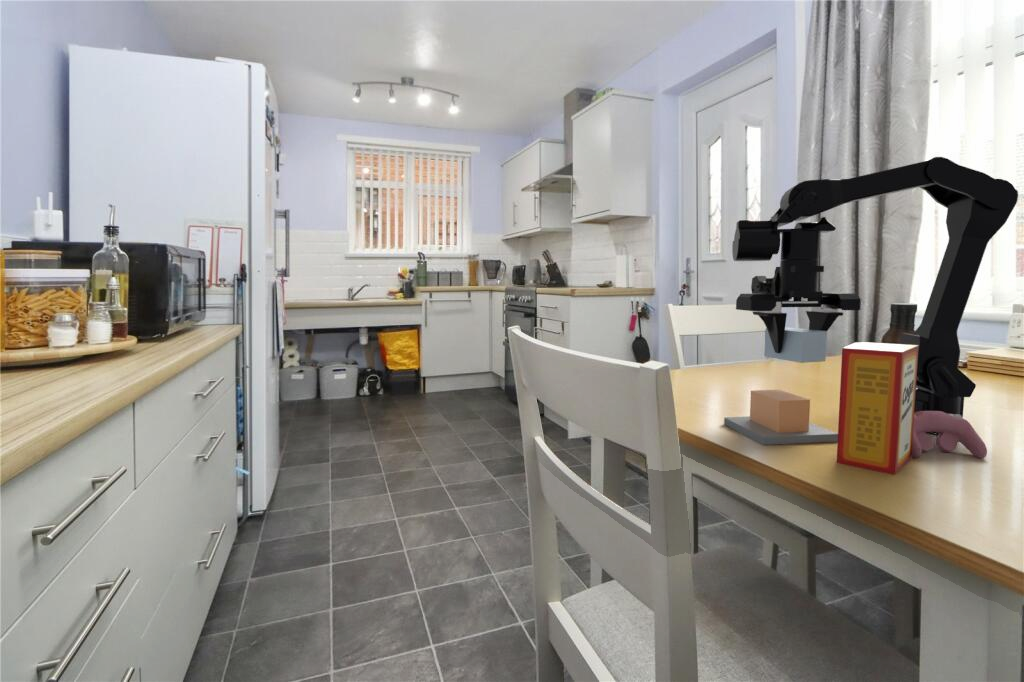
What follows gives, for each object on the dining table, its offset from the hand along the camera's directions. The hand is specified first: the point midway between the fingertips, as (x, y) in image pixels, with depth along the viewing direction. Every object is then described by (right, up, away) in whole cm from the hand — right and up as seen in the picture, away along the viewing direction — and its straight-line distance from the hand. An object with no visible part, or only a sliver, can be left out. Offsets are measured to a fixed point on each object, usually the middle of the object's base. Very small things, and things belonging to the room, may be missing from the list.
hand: (794, 352), depth 90 cm
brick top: (0, -1, 0) cm, 1 cm away
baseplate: (-5, -13, -4) cm, 14 cm away
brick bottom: (-5, -12, -4) cm, 13 cm away
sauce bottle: (+26, -11, +12) cm, 30 cm away
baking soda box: (+1, -15, -18) cm, 23 cm away
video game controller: (+12, -14, -15) cm, 24 cm away
